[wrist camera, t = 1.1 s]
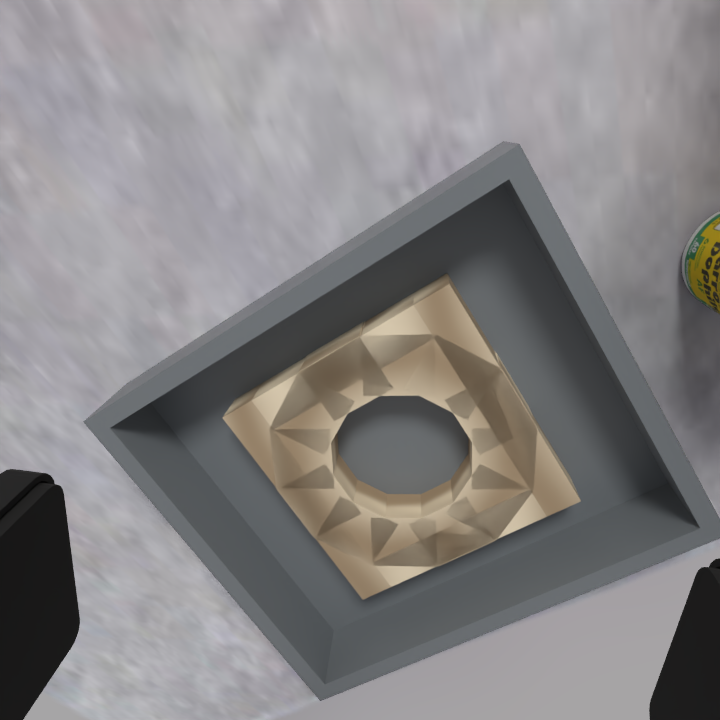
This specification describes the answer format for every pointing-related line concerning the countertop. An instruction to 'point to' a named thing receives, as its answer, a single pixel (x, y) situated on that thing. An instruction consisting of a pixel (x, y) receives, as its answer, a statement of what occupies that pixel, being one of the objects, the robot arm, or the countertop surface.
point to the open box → (418, 435)
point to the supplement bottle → (704, 263)
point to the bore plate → (403, 378)
